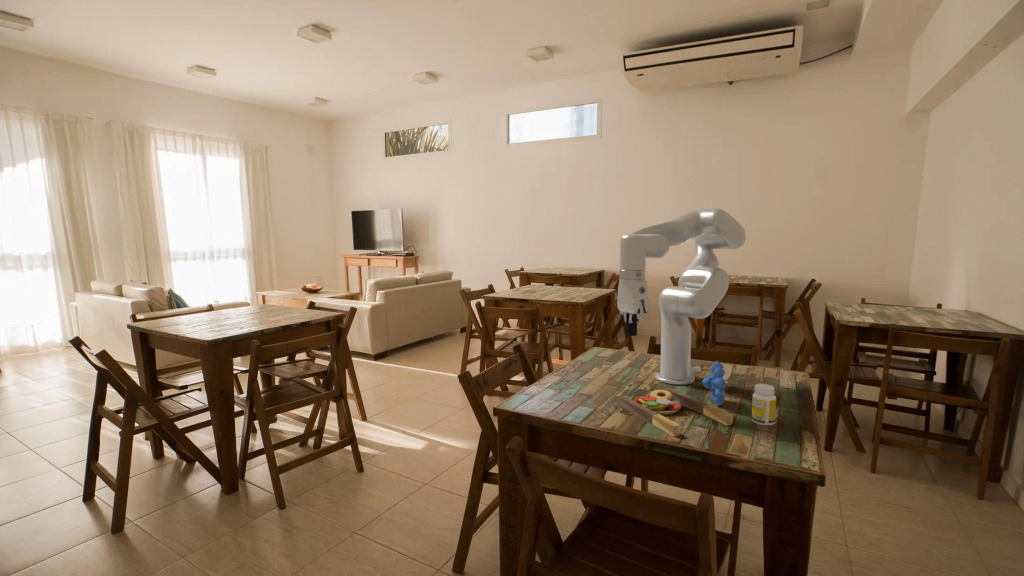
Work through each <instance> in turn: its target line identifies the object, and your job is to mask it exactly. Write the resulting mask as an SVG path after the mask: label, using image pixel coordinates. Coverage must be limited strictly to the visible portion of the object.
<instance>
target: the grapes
mask: <svg viewBox="0 0 1024 576" xmlns="http://www.w3.org/2000/svg"><path fill="white" fill-rule="evenodd" d="M709 371H711V373H710V374H709V376H706V377H705V378H703V380H702V381H701V383H702V385H703V386H704V387H705V388H706V389H709V391H710V392H711V395H710V398H711V400H712V401H713V403H714V404H715V405H716V406H721V405H723V404H724V402H725V401H726V399H725V398H726V397H727V393H726V392H725V390H724V388H725V387H726V386H727V382H726V380H725V379H724V375H726V372H725V370H724V366H723V364H722V363H721V362H720V361H718V360H715V362H713V364H712V365H711V366H710V368H709Z"/></svg>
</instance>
